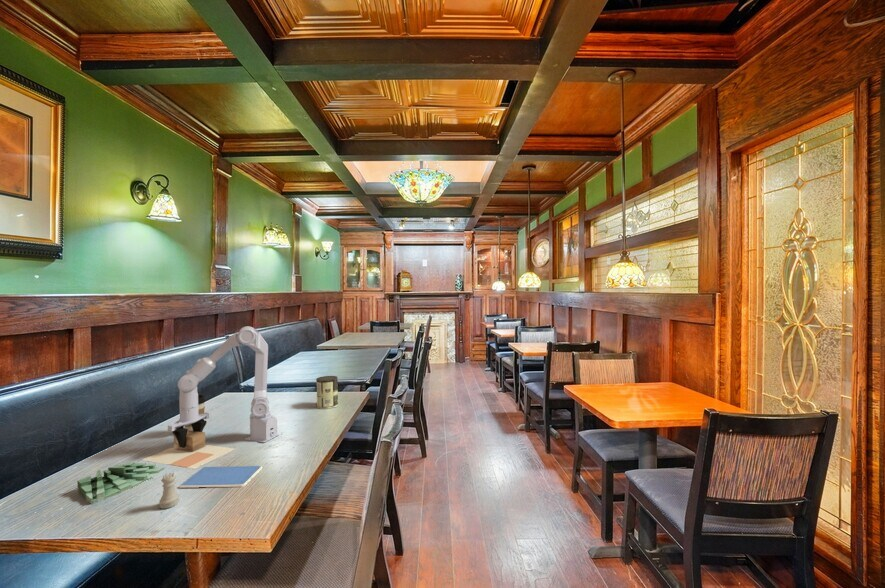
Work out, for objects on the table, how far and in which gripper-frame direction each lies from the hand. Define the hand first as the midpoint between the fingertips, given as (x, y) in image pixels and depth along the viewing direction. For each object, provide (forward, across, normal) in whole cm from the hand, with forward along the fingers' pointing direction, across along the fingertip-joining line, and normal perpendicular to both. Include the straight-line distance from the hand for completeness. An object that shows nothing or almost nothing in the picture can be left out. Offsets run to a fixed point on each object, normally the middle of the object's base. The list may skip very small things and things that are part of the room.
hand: (189, 444), depth 138 cm
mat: (+2, +4, +5) cm, 7 cm away
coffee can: (+2, -59, +18) cm, 62 cm away
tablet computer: (+3, +13, +30) cm, 33 cm away
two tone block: (+1, 0, 0) cm, 1 cm away
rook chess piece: (+2, +29, +29) cm, 41 cm away
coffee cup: (+2, -13, -14) cm, 19 cm away
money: (+3, +26, +3) cm, 26 cm away
